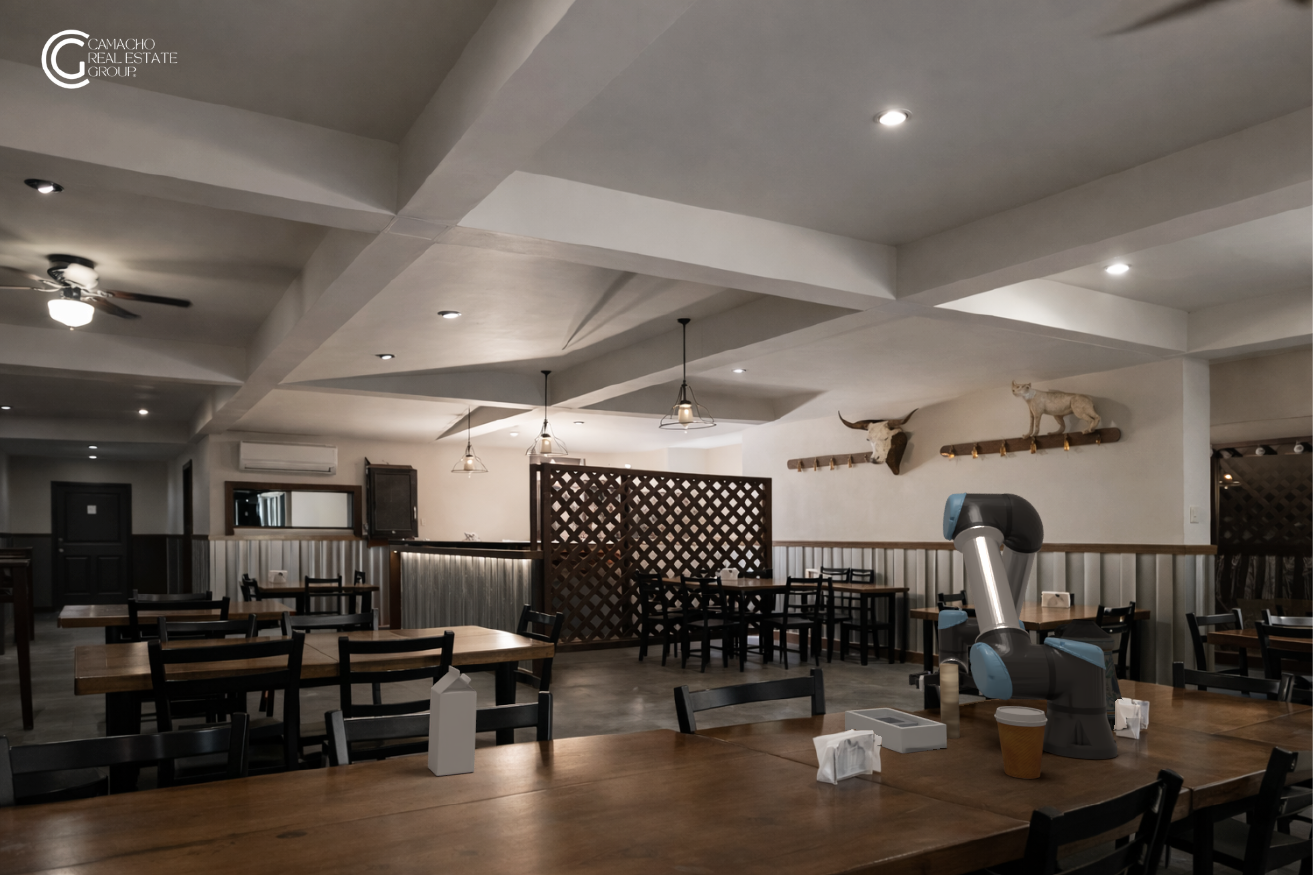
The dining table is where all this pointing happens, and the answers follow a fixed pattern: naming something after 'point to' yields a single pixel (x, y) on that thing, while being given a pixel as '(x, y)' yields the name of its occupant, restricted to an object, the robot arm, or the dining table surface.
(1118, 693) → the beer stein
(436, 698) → the milk carton
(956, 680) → the dowel
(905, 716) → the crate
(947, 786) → the dining table surface
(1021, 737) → the disposable coffee cup
